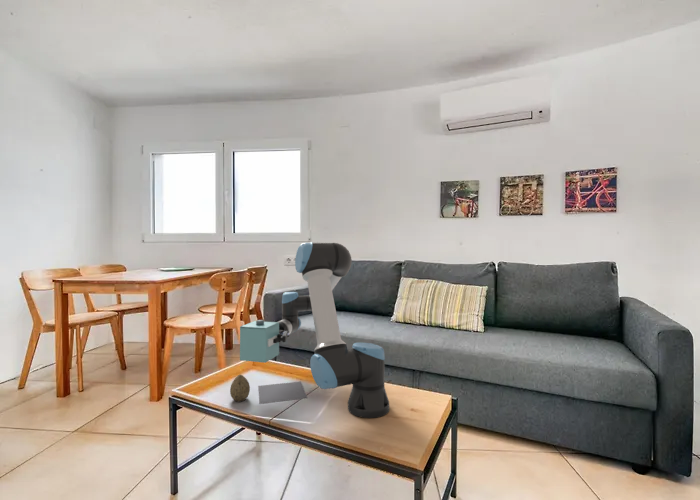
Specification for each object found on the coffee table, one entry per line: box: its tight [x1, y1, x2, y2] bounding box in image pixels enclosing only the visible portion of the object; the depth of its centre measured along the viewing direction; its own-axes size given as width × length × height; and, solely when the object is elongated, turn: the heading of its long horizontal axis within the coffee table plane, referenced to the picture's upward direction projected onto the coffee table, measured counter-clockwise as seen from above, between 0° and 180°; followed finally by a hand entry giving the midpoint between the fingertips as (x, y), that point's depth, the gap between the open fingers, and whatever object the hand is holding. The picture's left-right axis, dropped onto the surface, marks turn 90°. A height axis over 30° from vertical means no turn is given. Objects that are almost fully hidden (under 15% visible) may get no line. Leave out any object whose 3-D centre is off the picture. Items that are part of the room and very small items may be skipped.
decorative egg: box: [229, 374, 251, 402], centre depth 130 cm, size 7×7×10 cm
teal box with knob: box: [239, 319, 280, 364], centre depth 135 cm, size 11×11×14 cm
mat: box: [257, 381, 308, 405], centre depth 138 cm, size 18×18×1 cm
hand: (254, 342), depth 131 cm, fingers closed on teal box with knob, 11 cm apart
